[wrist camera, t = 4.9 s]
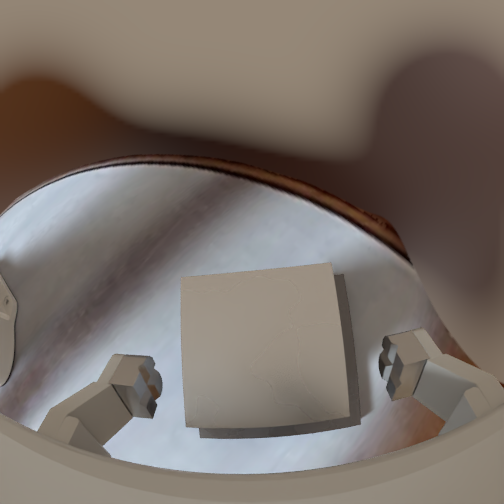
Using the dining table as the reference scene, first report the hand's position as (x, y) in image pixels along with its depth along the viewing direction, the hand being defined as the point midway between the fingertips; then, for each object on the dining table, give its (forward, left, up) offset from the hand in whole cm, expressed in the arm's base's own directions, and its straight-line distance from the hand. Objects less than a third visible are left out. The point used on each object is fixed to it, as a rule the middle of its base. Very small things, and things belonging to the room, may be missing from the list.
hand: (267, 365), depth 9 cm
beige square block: (0, 0, -15) cm, 15 cm away
